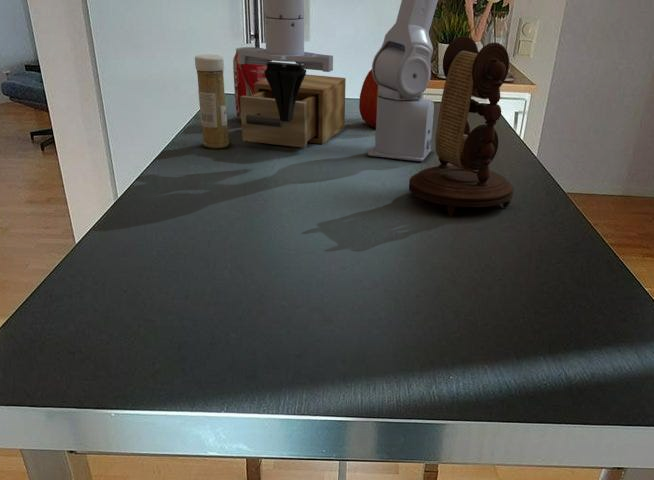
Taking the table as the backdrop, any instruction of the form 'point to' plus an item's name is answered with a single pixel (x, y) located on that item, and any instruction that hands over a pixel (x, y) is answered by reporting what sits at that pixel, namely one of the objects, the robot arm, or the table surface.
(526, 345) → the table surface
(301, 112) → the drawer
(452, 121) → the wooden rope wheel ornament
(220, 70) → the sprinkles bottle
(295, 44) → the robot arm
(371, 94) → the apple
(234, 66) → the soda can
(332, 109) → the cabinet
